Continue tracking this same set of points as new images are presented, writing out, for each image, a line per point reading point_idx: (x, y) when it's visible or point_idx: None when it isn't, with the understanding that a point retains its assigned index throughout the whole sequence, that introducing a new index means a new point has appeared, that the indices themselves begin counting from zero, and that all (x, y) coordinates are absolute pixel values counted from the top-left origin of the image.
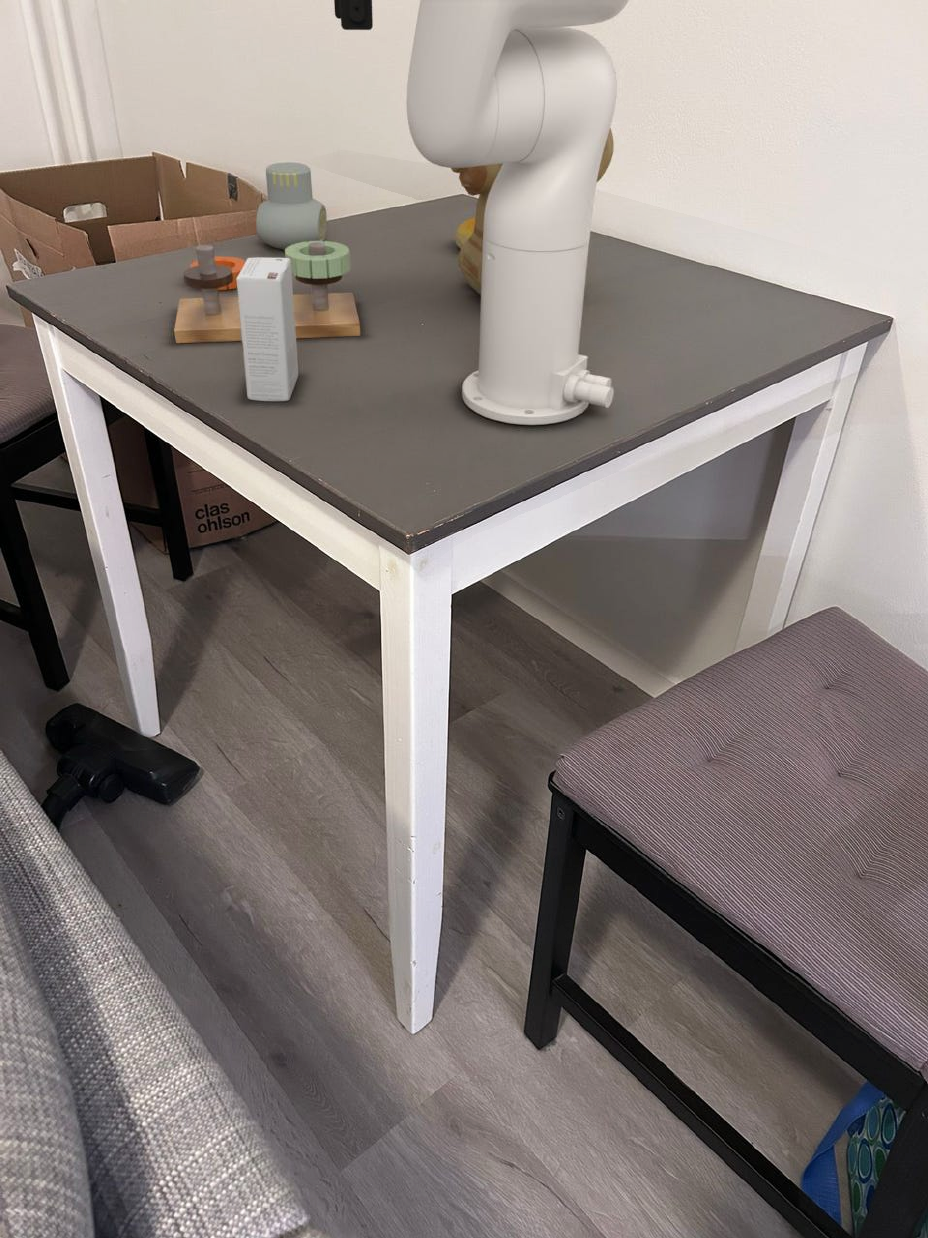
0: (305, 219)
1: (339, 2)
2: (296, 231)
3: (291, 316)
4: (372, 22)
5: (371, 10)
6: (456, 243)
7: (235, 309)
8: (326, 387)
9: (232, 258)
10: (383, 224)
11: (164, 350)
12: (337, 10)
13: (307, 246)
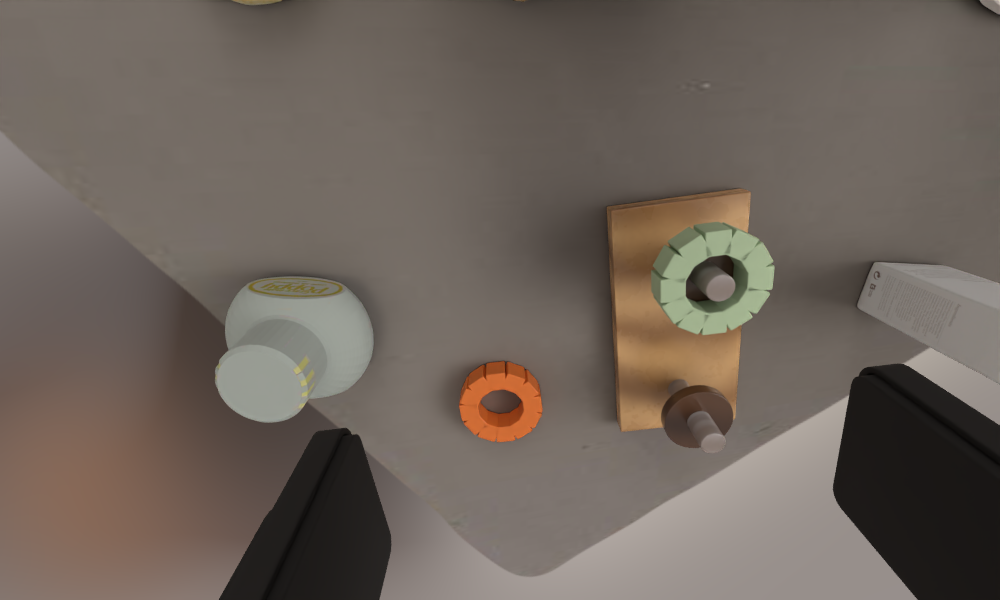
0: (347, 318)
1: (372, 592)
2: (368, 325)
3: (985, 293)
4: (922, 375)
5: (978, 418)
6: (268, 3)
7: (671, 364)
8: (912, 223)
9: (469, 396)
10: (144, 172)
11: (745, 416)
12: (386, 564)
13: (689, 302)
